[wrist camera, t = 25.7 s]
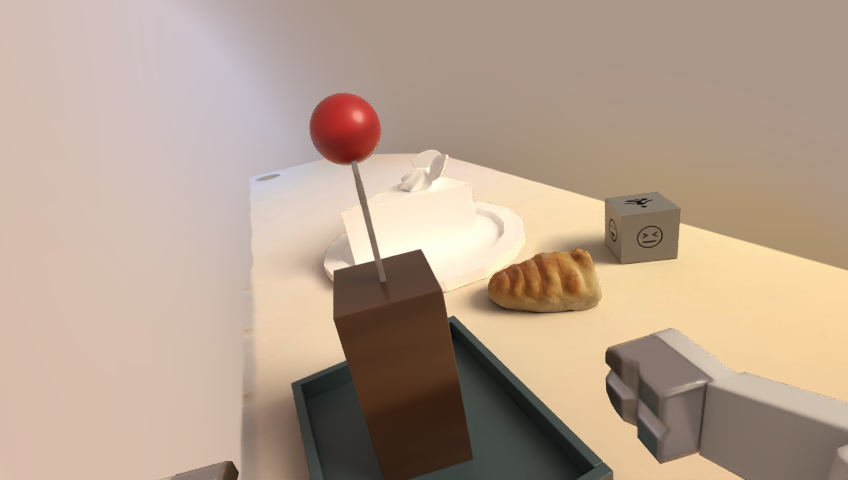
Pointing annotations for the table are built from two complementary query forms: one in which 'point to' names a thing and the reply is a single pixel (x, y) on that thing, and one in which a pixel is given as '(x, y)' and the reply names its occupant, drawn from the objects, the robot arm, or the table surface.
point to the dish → (432, 227)
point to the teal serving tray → (486, 418)
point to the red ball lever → (393, 325)
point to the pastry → (548, 283)
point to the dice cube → (642, 227)
